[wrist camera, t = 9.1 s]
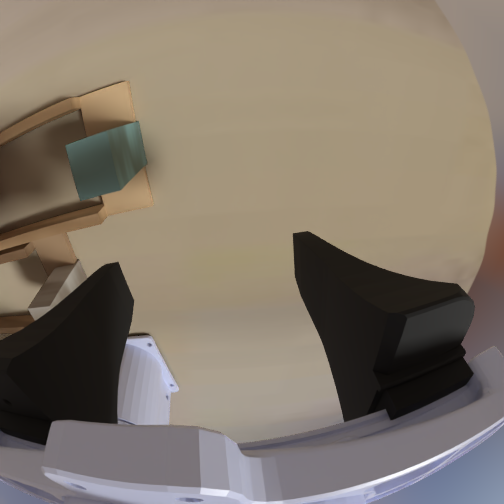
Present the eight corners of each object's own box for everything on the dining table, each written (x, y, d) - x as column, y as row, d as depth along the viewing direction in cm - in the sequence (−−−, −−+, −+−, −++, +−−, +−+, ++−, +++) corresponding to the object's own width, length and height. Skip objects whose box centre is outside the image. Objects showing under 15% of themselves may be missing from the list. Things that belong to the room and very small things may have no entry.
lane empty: (104, 314, 24) (87, 363, 18) (-14, 322, 23) (-34, 356, 18) (66, 228, 19) (30, 270, 14) (-47, 263, 18) (-74, 293, 13)
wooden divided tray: (156, 202, 19) (136, 242, 14) (-17, 248, 18) (-50, 283, 13) (131, 80, 15) (97, 74, 10) (-44, 166, 14) (-85, 189, 9)
